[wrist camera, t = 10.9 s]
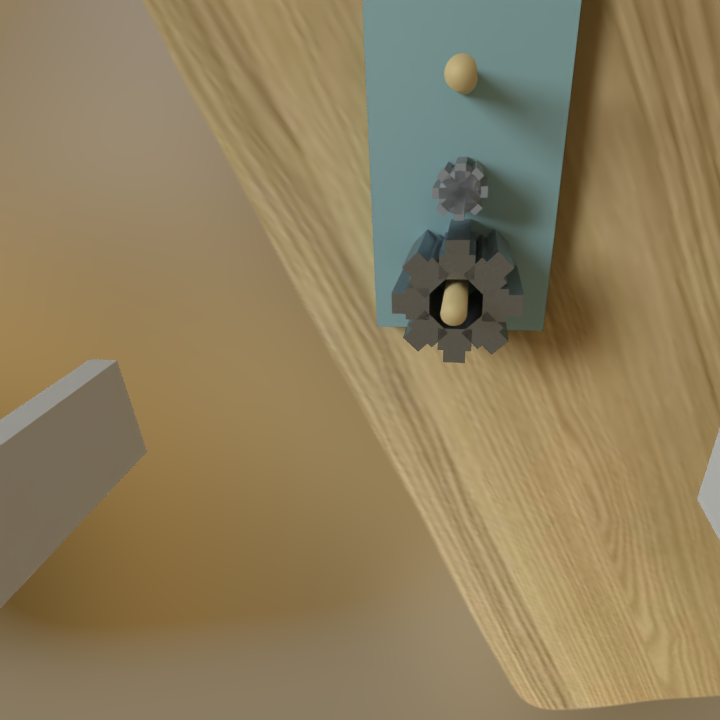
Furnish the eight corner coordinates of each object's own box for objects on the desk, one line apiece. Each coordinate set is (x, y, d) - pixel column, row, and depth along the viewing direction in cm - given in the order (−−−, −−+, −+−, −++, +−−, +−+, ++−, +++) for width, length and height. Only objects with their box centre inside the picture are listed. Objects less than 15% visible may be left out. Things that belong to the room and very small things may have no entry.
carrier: (368, 6, 25) (322, -35, 18) (578, -17, 23) (625, -76, 16) (381, 317, 33) (352, 379, 25) (540, 321, 31) (559, 390, 23)
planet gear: (403, 220, 28) (389, 240, 24) (521, 217, 27) (529, 239, 22) (405, 324, 31) (393, 359, 27) (511, 327, 30) (517, 365, 25)
